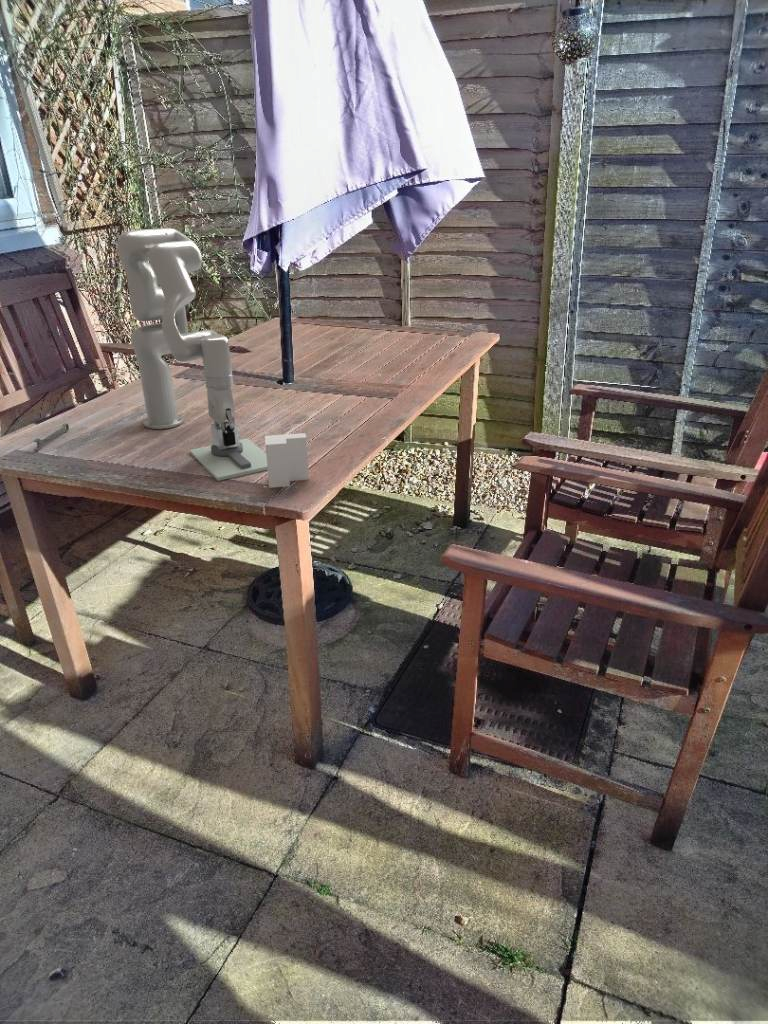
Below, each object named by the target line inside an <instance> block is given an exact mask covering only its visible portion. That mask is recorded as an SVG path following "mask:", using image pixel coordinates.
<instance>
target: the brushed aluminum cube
mask: <svg viewBox="0 0 768 1024" xmlns="http://www.w3.org/2000/svg"><path fill="white" fill-rule="evenodd" d="M224 422H228V420H225V421H224ZM227 426H228V424H226V428H227ZM210 428H211V429H210V432H211V440H212V445H213V444H214V445H215V446H216V447H217V448H218V449H219V450H222V449H227V448H232V447H237V446H240V442H239V440H240V434H239V426H238V425H237V424H236V423H235V426H234V430H235V441H236V444H235V445H231V446H225V445H224V437H223V433H224V429H223V425H222V424H218V423H210Z"/></svg>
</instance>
